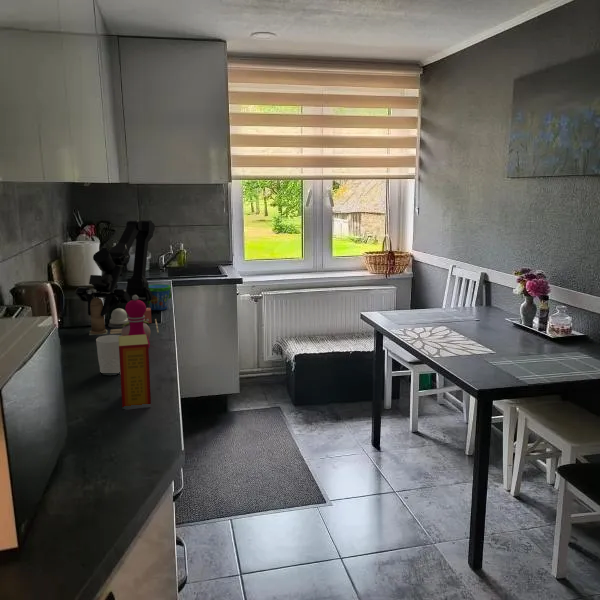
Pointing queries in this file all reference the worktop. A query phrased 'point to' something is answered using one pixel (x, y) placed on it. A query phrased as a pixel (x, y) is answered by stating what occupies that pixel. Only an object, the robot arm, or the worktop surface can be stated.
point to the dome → (119, 316)
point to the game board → (114, 331)
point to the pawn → (97, 316)
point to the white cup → (108, 353)
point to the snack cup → (159, 296)
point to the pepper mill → (136, 316)
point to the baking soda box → (134, 370)
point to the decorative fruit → (127, 328)
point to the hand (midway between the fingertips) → (95, 315)
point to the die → (148, 315)
